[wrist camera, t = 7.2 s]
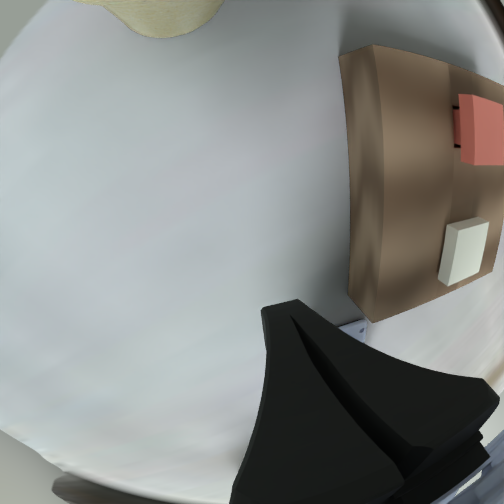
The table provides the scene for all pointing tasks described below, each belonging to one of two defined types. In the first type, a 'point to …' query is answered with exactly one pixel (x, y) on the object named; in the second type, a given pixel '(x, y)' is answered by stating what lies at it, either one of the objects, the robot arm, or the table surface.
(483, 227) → the cream button
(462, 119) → the red button
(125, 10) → the flower pot
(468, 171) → the panel
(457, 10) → the table surface
